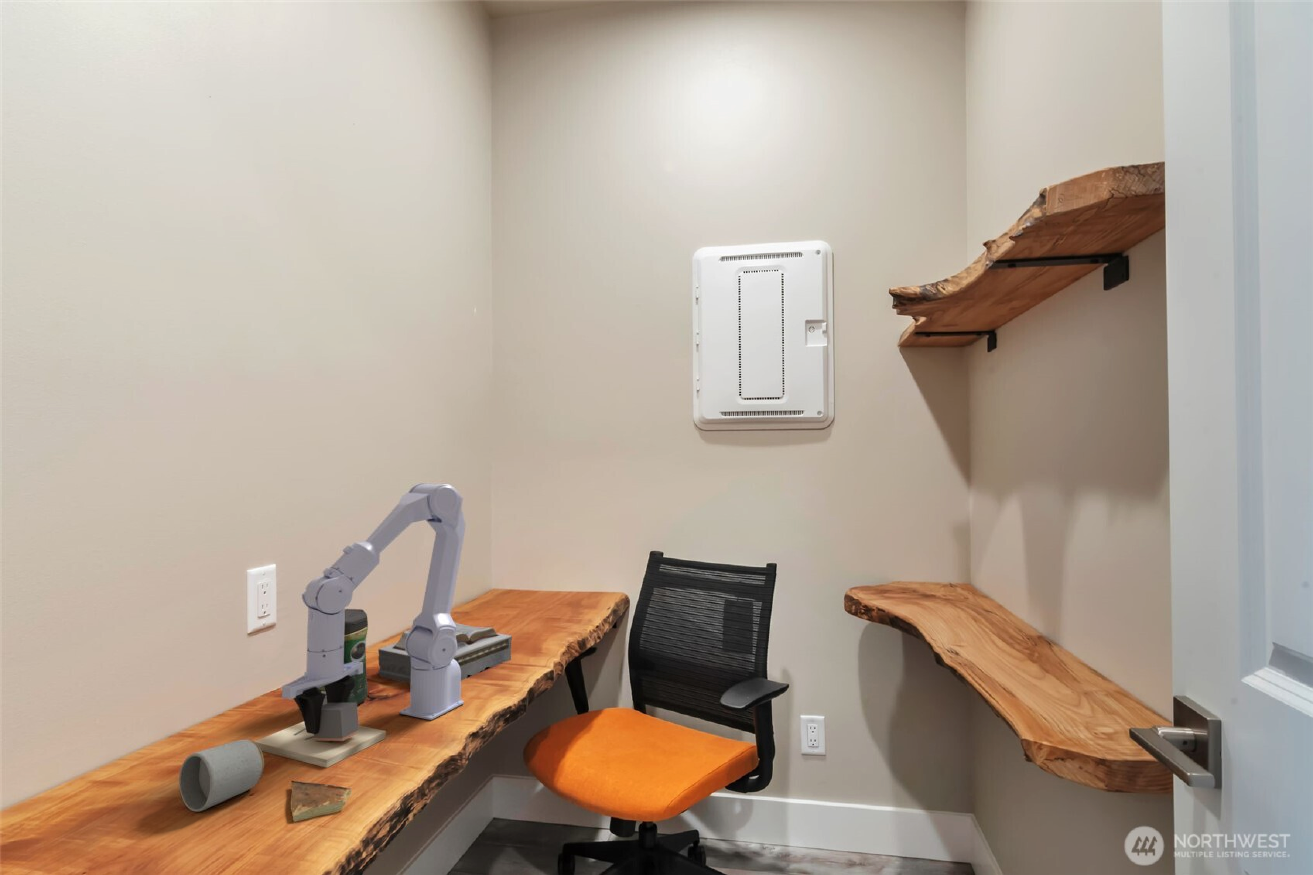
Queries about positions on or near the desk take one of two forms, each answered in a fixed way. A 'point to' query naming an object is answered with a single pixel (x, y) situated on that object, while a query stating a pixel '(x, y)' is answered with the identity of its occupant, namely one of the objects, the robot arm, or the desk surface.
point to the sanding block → (337, 722)
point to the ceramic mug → (220, 773)
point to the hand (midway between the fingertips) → (323, 727)
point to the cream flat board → (317, 745)
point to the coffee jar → (354, 652)
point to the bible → (472, 655)
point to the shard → (316, 799)
